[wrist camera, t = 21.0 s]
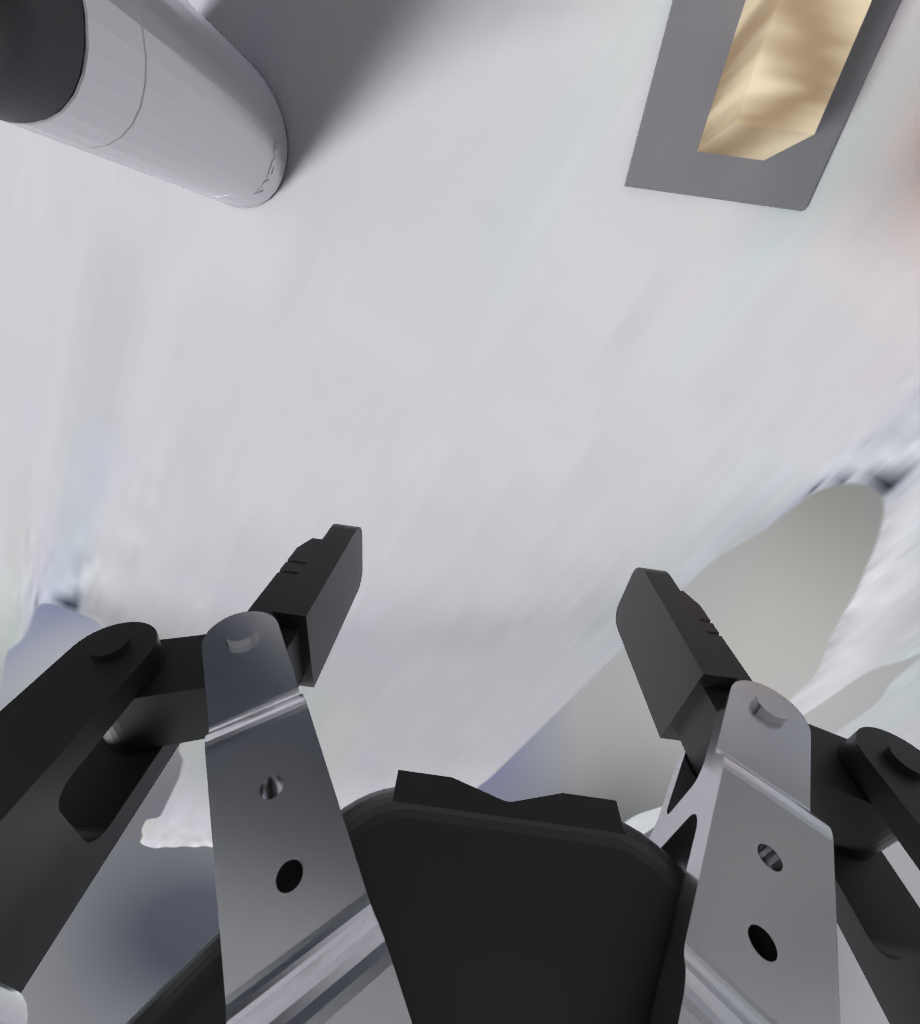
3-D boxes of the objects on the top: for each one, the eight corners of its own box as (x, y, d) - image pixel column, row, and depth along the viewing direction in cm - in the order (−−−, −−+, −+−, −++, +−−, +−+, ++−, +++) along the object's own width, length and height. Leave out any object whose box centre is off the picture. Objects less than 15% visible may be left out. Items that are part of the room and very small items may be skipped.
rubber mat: (801, 210, 29) (804, 209, 29) (624, 185, 29) (626, 184, 29) (1018, -270, 20) (1027, -280, 19) (753, -308, 20) (758, -319, 19)
